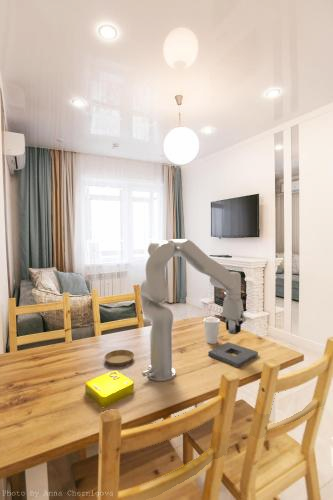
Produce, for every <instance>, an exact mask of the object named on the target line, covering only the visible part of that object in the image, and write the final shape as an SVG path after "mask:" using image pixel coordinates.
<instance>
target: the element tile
mask: <svg viewBox="0 0 333 500" xmlns="http://www.w3.org/2000/svg"><path fill="white" fill-rule="evenodd" d="M84 387H85V389H84V391H85V394H86V395H87V397H88V398H90V399H91V400H92V401H93V402H94V403H95V404H96V405H97V406H99V407H100V408H102V407H104V408H107V407H110V406H111V405H113V404H114V405H115V403H118V402H119V401H122V400H123V399H125V398H127V397H129V396H131V395H133V394H134V392H135V382H134V381H133V380H131V378H129V377H127V376H126V375H124V374H122V373H121V372H120V371H118V370H116V369H115V370H111V371H108V372H106V373H104V374H102V375H101V374H100V375H99V376H97V377H94V378H92V379H89V380H87V381H86V382H85V384H84ZM109 405H110V406H109Z"/></svg>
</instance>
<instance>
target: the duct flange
mask: <svg viewBox="0 0 333 500" xmlns="http://www.w3.org/2000/svg"><path fill="white" fill-rule="evenodd" d="M231 353H233V354H231ZM234 354H236V355H234ZM207 355H208V357H211V358H213V359H216V360H218V361H221V362H224V363H226V364H229V365H231V366H234V367H235V368H241V367H243V366H245V365H246V364H247V363H248V362H251V361H252V360H254V359H255V358H257V357H258V355H259V351H255V350H253V349H250V348H247V347H244V346H241V345H238V344H235V343H233V342H229V341H227V342H225V343H224V344H221V345H219V346H217V347H215V348H213V349H211V350H209V351H208V354H207Z"/></svg>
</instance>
